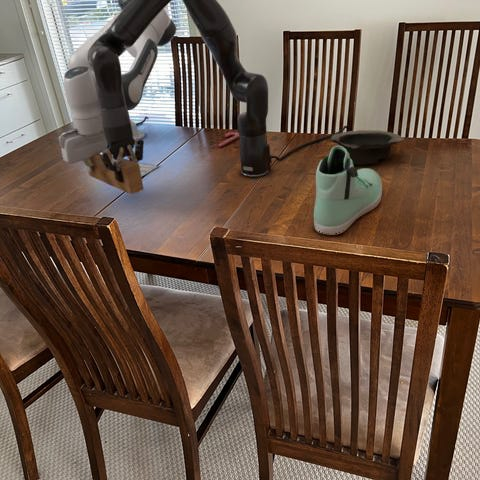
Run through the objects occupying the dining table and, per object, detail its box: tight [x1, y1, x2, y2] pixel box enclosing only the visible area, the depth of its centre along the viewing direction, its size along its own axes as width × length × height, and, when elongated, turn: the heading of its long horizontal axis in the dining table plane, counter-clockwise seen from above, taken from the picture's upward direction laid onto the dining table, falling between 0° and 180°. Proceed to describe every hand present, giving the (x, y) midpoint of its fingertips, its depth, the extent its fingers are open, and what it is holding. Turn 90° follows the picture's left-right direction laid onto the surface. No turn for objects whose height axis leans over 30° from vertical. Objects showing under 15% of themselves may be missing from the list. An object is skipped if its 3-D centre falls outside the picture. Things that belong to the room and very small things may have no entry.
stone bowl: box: [329, 129, 404, 166], centre depth 169 cm, size 25×25×9 cm
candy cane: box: [218, 131, 239, 148], centre depth 194 cm, size 6×15×2 cm, turn 145°
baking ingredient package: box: [138, 163, 158, 178], centre depth 172 cm, size 9×1×15 cm
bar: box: [87, 153, 145, 196], centre depth 145 cm, size 24×4×8 cm, turn 45°
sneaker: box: [313, 145, 383, 236], centre depth 133 cm, size 14×35×20 cm, turn 152°
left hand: (99, 167), depth 151 cm, fingers closed on bar, 4 cm apart
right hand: (128, 178), depth 141 cm, fingers closed on bar, 4 cm apart
